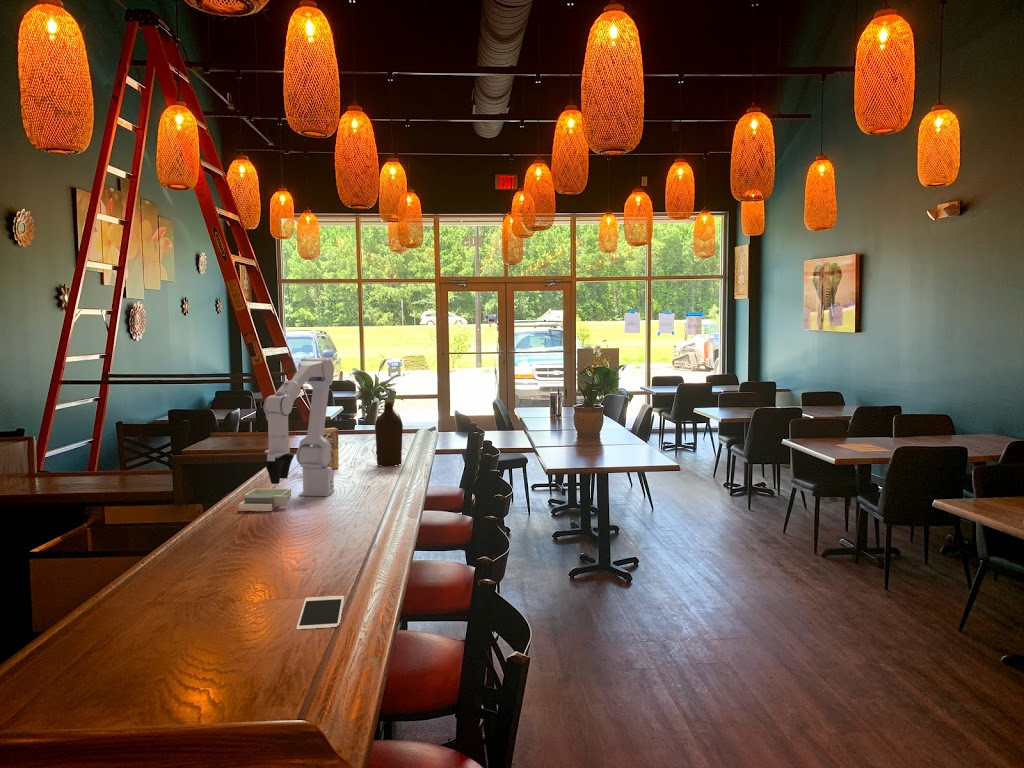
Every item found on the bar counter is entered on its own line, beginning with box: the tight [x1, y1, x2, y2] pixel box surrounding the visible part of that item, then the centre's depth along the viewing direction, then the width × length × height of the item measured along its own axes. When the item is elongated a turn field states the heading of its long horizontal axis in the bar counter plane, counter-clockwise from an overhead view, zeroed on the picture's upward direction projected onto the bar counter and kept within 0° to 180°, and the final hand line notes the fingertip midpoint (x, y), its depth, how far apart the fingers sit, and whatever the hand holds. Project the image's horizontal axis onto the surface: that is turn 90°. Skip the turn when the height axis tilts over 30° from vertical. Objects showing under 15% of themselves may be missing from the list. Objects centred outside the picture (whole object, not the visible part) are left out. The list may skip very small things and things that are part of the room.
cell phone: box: [295, 595, 345, 631], centre depth 149 cm, size 8×16×1 cm, turn 9°
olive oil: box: [374, 400, 404, 467], centre depth 297 cm, size 11×11×25 cm
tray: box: [243, 488, 292, 499], centre depth 240 cm, size 12×9×2 cm
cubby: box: [237, 500, 273, 512], centre depth 229 cm, size 10×8×2 cm
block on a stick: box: [243, 494, 289, 509], centre depth 230 cm, size 12×5×4 cm, turn 89°
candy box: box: [312, 427, 340, 469], centre depth 288 cm, size 9×4×15 cm, turn 129°
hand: (279, 481), depth 228 cm, fingers open, 7 cm apart
